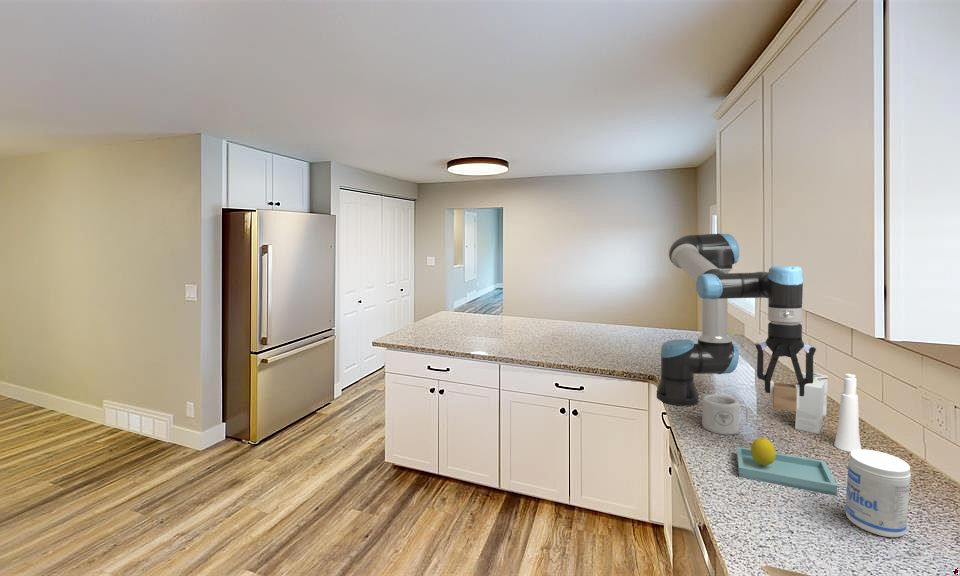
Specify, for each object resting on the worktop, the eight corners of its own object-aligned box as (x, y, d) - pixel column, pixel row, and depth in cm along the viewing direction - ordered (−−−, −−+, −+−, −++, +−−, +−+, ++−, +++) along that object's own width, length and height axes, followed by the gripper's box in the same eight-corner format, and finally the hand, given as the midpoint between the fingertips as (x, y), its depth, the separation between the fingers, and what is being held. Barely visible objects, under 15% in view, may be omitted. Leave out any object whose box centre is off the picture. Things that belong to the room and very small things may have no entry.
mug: (705, 433, 136) (705, 403, 135) (699, 420, 146) (699, 392, 145) (753, 437, 131) (754, 407, 130) (743, 423, 141) (744, 395, 141)
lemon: (749, 467, 113) (750, 439, 112) (751, 458, 117) (752, 431, 116) (774, 473, 109) (775, 444, 108) (776, 464, 114) (776, 436, 113)
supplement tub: (835, 518, 92) (838, 454, 91) (859, 506, 96) (862, 444, 95) (893, 545, 83) (896, 475, 82) (916, 531, 87) (920, 463, 86)
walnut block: (771, 403, 119) (772, 382, 119) (793, 405, 117) (793, 384, 116) (773, 408, 115) (774, 387, 114) (796, 411, 112) (796, 389, 112)
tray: (736, 454, 121) (736, 446, 121) (824, 469, 111) (824, 460, 111) (738, 476, 110) (739, 467, 110) (836, 495, 100) (837, 485, 100)
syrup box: (797, 411, 149) (798, 372, 148) (811, 410, 150) (812, 370, 149) (813, 418, 144) (814, 376, 142) (827, 416, 145) (828, 375, 143)
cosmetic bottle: (865, 449, 121) (868, 375, 119) (855, 454, 118) (858, 379, 116) (840, 441, 127) (842, 370, 125) (830, 446, 124) (832, 373, 122)
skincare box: (799, 421, 142) (800, 376, 140) (824, 426, 137) (825, 380, 136) (794, 429, 136) (795, 382, 134) (820, 435, 131) (822, 386, 130)
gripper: (746, 323, 115) (746, 405, 117) (830, 326, 107) (828, 415, 108) (744, 319, 122) (744, 397, 123) (823, 321, 113) (822, 405, 115)
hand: (783, 405), depth 116 cm, fingers closed on walnut block, 5 cm apart
